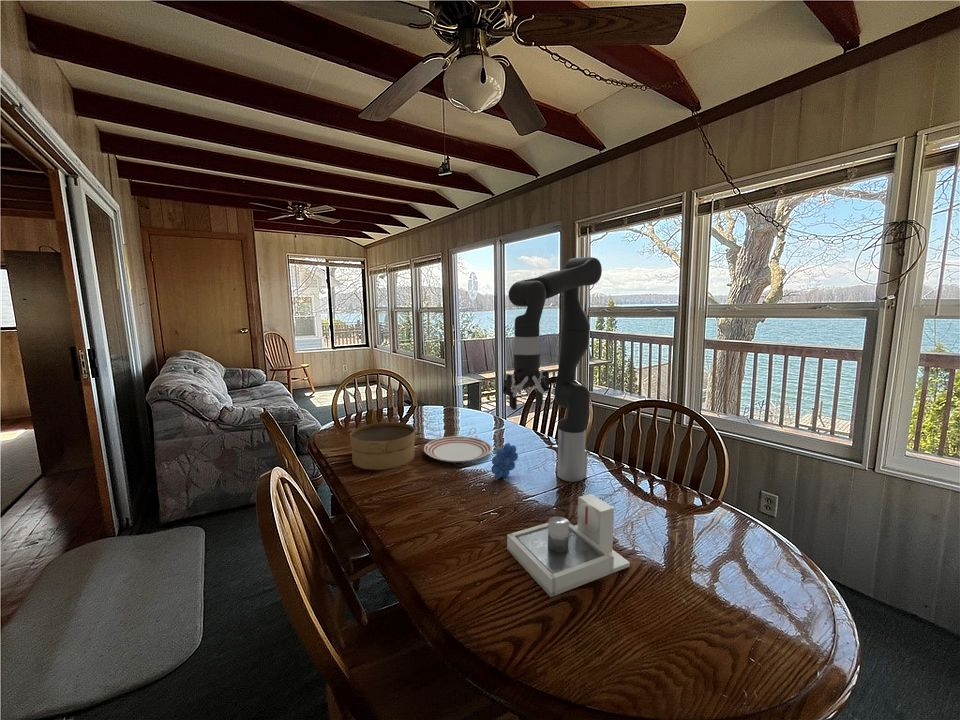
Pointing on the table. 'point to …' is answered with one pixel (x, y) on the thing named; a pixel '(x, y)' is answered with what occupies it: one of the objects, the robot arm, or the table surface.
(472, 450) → the dinner plate
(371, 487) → the table surface
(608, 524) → the scale
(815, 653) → the table surface
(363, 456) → the steamer basket
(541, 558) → the scale pan
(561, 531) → the cylinder
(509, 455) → the grapes
